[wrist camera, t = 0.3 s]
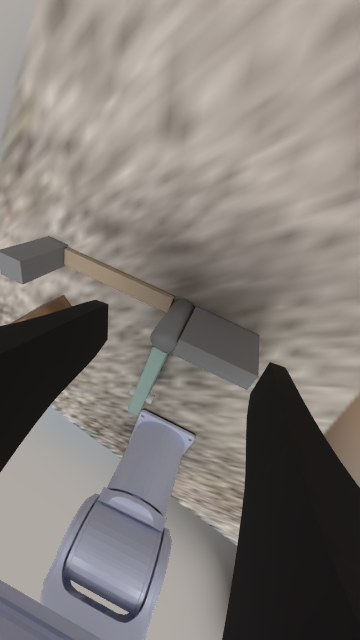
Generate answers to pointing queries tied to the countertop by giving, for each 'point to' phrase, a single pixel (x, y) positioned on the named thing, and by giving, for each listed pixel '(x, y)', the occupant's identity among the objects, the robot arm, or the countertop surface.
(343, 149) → the countertop surface
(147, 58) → the countertop surface
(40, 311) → the block
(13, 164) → the countertop surface
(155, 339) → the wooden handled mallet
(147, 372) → the pale green long block
